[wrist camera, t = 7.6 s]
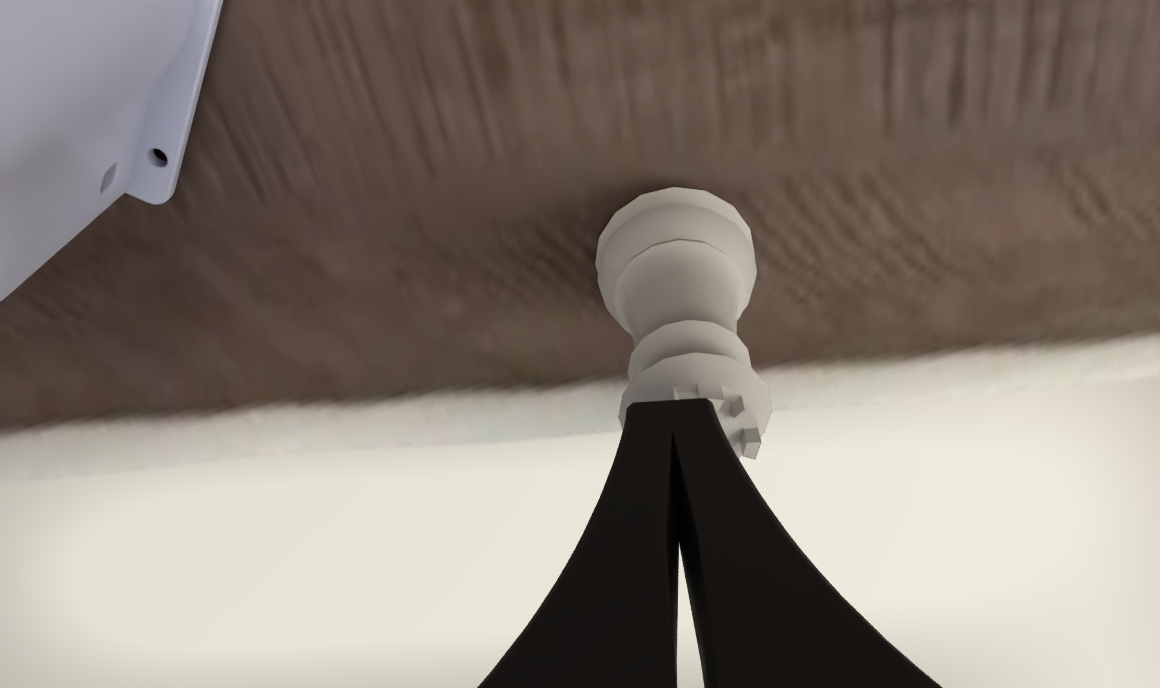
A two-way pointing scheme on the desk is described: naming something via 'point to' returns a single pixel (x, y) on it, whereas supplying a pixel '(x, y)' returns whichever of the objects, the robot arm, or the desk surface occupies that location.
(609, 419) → the desk surface
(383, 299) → the desk surface
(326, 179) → the desk surface
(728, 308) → the rook chess piece
